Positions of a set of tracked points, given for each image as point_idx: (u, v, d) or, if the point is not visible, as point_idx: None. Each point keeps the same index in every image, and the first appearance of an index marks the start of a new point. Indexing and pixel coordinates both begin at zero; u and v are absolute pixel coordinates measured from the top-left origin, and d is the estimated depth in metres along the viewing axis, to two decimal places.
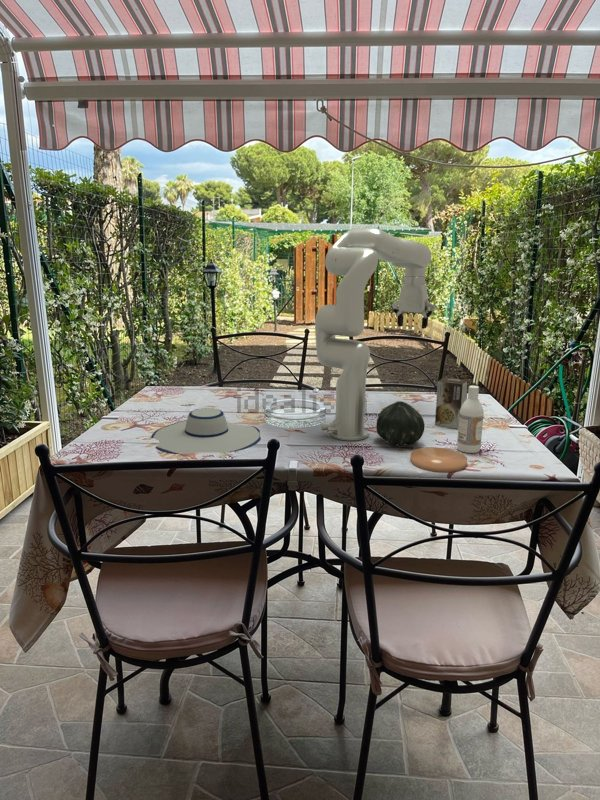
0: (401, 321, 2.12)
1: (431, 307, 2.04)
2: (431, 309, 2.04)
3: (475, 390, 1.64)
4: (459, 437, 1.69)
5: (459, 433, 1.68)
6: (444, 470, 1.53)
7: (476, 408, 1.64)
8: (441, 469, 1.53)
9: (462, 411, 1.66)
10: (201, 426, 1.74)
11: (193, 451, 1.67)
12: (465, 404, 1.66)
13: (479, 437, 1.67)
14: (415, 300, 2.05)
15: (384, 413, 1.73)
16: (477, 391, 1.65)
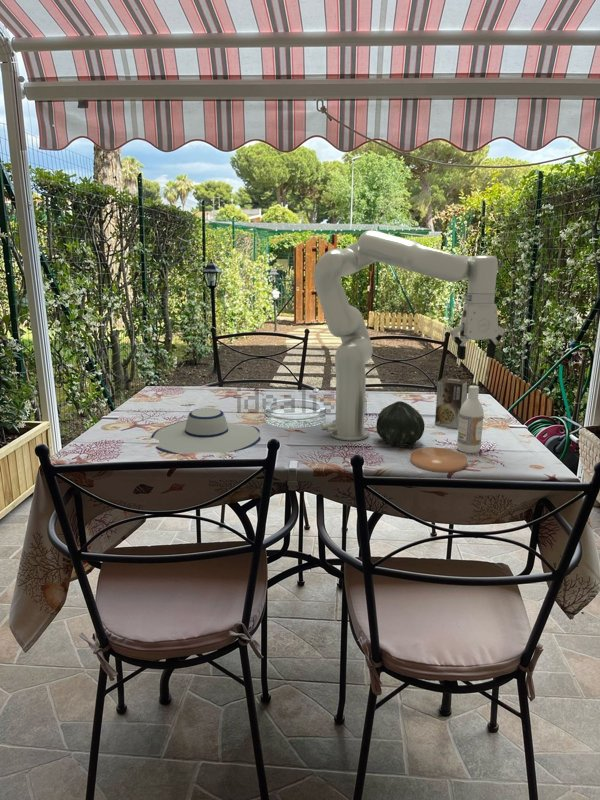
0: None
1: (501, 330, 1.63)
2: (501, 333, 1.63)
3: (475, 390, 1.64)
4: (459, 437, 1.69)
5: (459, 433, 1.68)
6: (444, 470, 1.53)
7: (476, 408, 1.64)
8: (441, 469, 1.53)
9: (462, 411, 1.66)
10: (201, 426, 1.74)
11: (193, 451, 1.67)
12: (465, 404, 1.66)
13: (479, 437, 1.67)
14: (489, 324, 1.59)
15: (384, 413, 1.73)
16: (477, 391, 1.65)
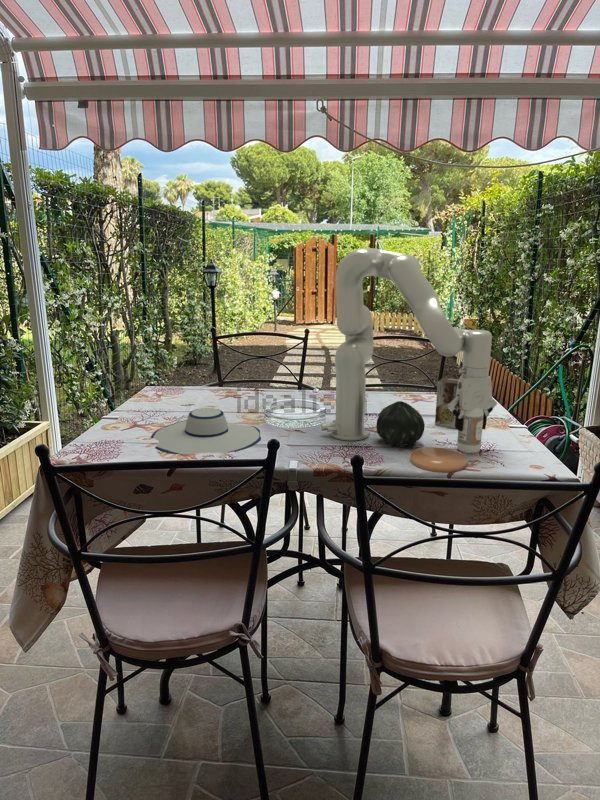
0: None
1: (493, 403, 1.68)
2: (492, 405, 1.68)
3: None
4: (459, 437, 1.69)
5: (459, 433, 1.68)
6: (444, 470, 1.53)
7: (476, 408, 1.64)
8: (441, 469, 1.53)
9: None
10: (201, 426, 1.74)
11: (193, 451, 1.67)
12: None
13: (479, 437, 1.67)
14: (484, 395, 1.64)
15: (384, 413, 1.73)
16: None
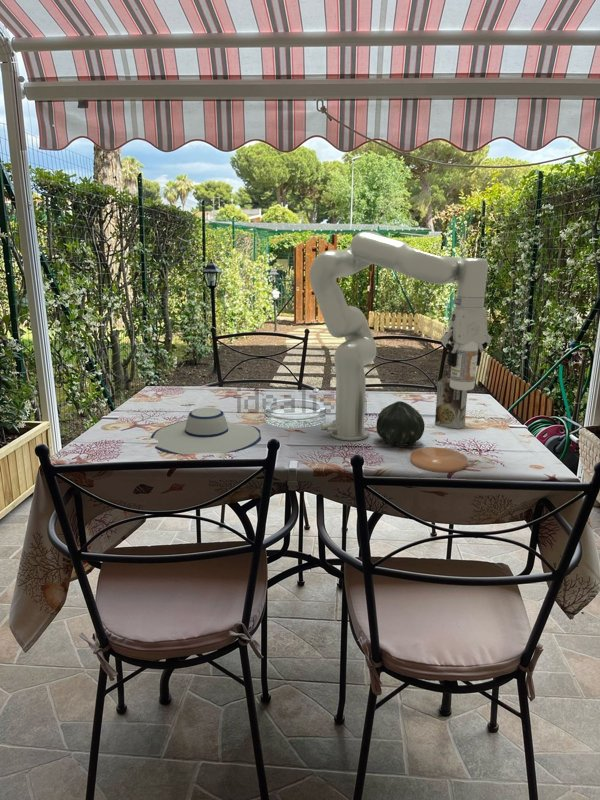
0: None
1: (488, 338, 1.59)
2: (487, 340, 1.59)
3: None
4: (452, 374, 1.59)
5: (452, 370, 1.59)
6: (444, 470, 1.53)
7: (471, 342, 1.55)
8: (441, 469, 1.53)
9: None
10: (201, 426, 1.74)
11: (193, 451, 1.67)
12: None
13: (473, 373, 1.58)
14: (479, 328, 1.55)
15: (384, 413, 1.73)
16: None
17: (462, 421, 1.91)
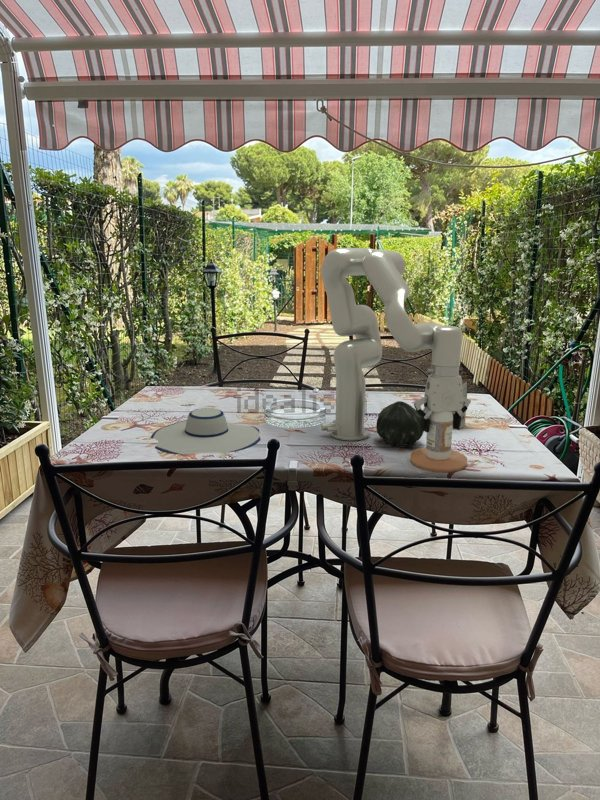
0: None
1: (467, 401, 1.57)
2: (466, 404, 1.57)
3: None
4: (427, 444, 1.58)
5: (427, 439, 1.58)
6: (444, 470, 1.53)
7: (445, 413, 1.54)
8: (441, 469, 1.53)
9: (430, 416, 1.56)
10: (201, 426, 1.74)
11: (193, 451, 1.67)
12: None
13: (448, 443, 1.56)
14: (454, 396, 1.53)
15: (384, 413, 1.73)
16: None
17: (462, 421, 1.91)
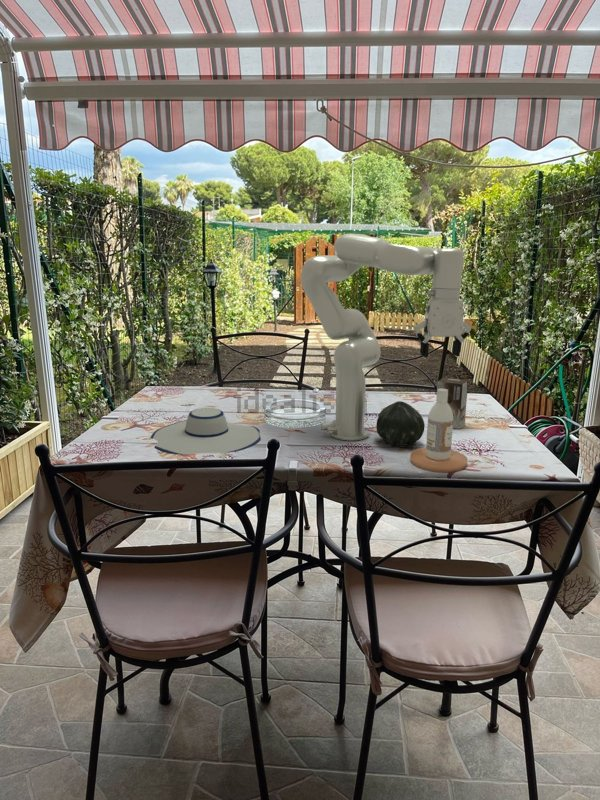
0: None
1: (467, 328, 1.56)
2: (467, 330, 1.56)
3: (444, 393, 1.54)
4: (427, 444, 1.58)
5: (428, 439, 1.58)
6: (444, 470, 1.53)
7: (445, 412, 1.54)
8: (441, 469, 1.53)
9: (430, 416, 1.56)
10: (201, 426, 1.74)
11: (193, 451, 1.67)
12: (433, 408, 1.56)
13: (449, 443, 1.56)
14: (454, 320, 1.52)
15: (384, 413, 1.73)
16: (446, 394, 1.54)
17: (462, 421, 1.91)
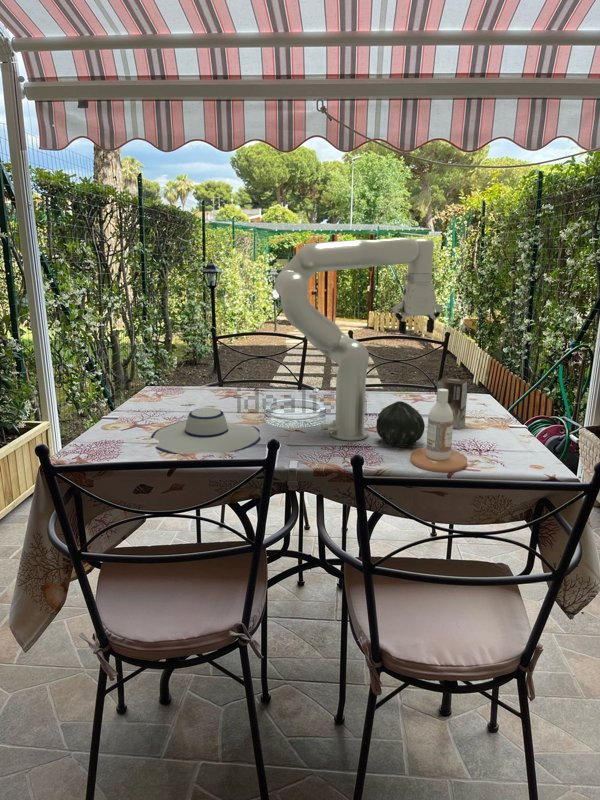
0: None
1: (439, 308, 1.79)
2: (439, 310, 1.80)
3: (444, 393, 1.54)
4: (427, 444, 1.58)
5: (428, 439, 1.58)
6: (444, 470, 1.53)
7: (445, 413, 1.54)
8: (441, 469, 1.53)
9: (431, 416, 1.56)
10: (201, 426, 1.74)
11: (193, 451, 1.67)
12: (434, 408, 1.56)
13: (449, 443, 1.56)
14: (427, 301, 1.75)
15: (384, 413, 1.73)
16: (446, 394, 1.54)
17: (462, 421, 1.91)
